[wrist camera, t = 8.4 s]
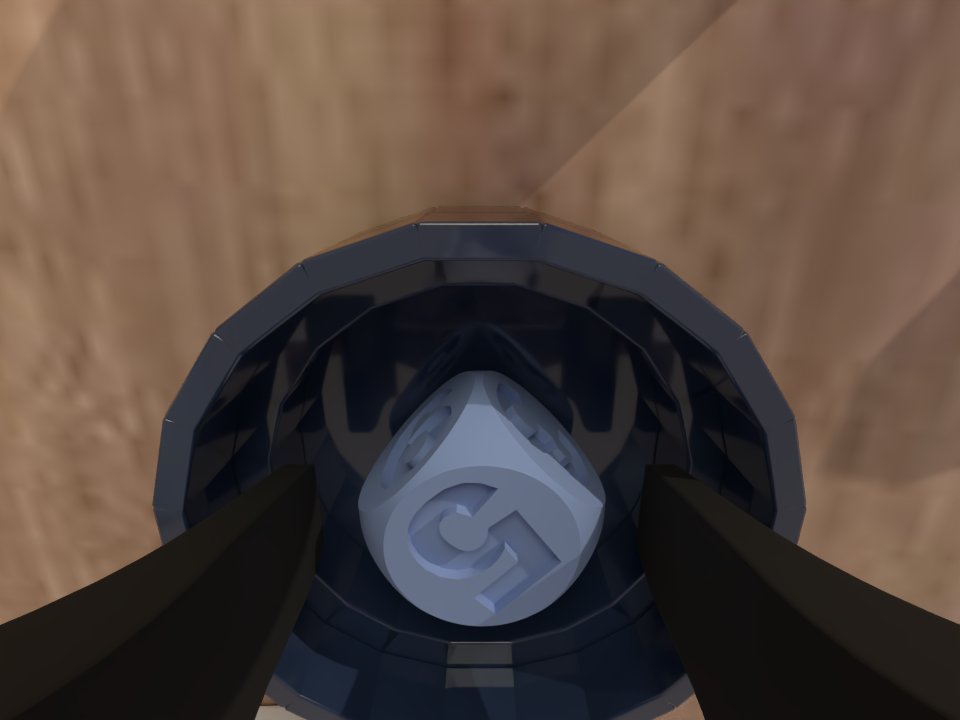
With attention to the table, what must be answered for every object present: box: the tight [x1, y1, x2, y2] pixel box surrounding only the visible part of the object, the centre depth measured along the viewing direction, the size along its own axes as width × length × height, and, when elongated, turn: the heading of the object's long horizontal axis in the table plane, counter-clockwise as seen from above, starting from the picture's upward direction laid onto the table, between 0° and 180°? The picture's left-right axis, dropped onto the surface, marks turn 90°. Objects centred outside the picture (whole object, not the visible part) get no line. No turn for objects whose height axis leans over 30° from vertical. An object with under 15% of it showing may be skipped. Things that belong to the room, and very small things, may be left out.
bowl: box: [152, 206, 806, 720], centre depth 12 cm, size 12×12×4 cm
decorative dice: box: [358, 371, 606, 626], centre depth 12 cm, size 4×4×4 cm
